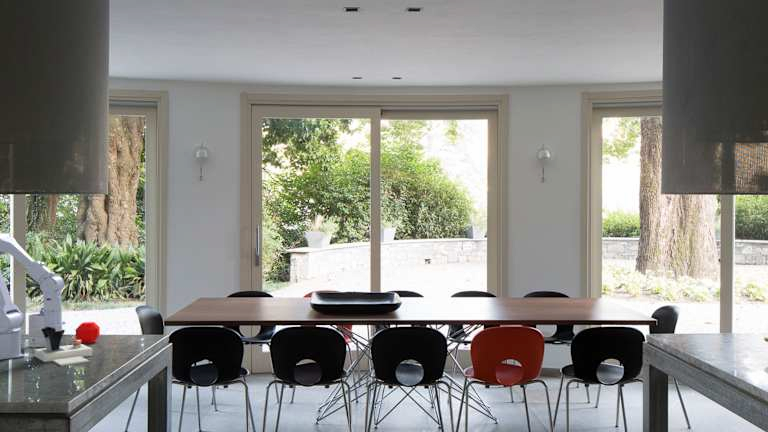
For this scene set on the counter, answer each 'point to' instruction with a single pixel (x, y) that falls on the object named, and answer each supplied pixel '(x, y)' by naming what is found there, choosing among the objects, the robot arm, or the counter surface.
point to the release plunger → (76, 343)
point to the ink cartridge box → (36, 330)
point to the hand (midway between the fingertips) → (53, 349)
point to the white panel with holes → (63, 353)
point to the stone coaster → (70, 360)
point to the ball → (88, 332)
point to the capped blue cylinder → (49, 346)
